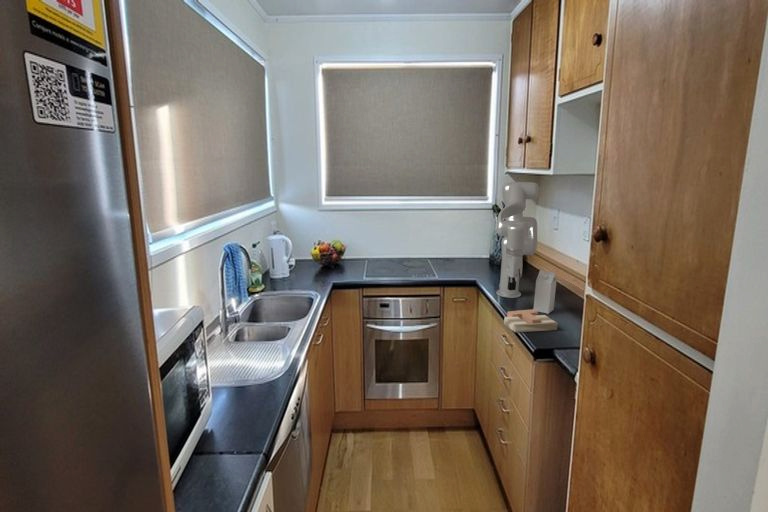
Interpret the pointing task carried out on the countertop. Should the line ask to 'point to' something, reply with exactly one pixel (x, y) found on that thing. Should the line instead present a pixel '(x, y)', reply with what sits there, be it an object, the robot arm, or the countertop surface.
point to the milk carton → (545, 292)
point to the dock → (530, 324)
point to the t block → (525, 315)
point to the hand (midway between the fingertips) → (511, 289)
